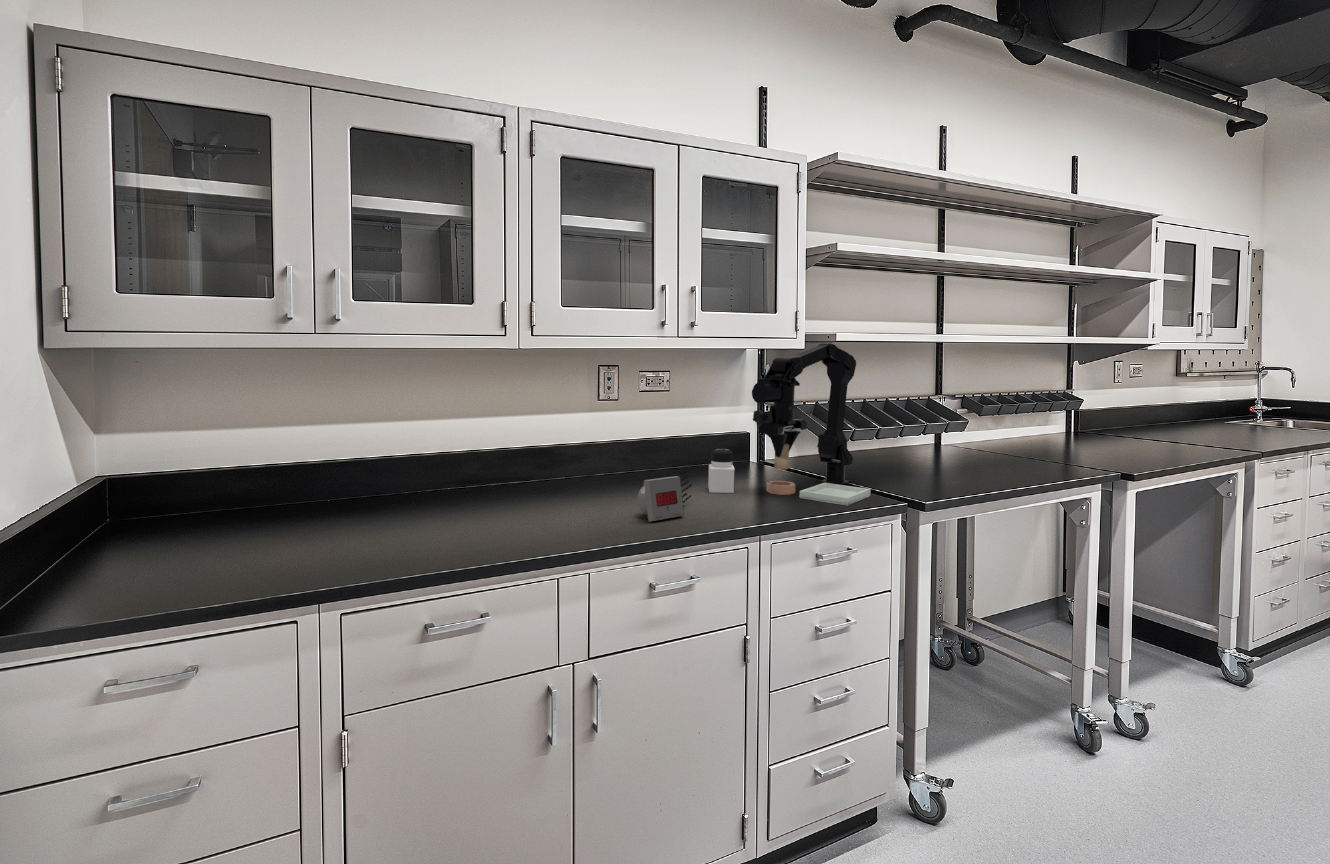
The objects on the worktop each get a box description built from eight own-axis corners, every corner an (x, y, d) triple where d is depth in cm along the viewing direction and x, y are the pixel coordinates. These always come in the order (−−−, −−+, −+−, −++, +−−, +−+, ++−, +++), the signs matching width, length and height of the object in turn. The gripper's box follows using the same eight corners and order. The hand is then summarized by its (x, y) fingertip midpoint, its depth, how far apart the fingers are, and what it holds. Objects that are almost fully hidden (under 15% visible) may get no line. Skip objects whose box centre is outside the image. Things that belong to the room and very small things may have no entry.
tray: (824, 489, 206) (824, 482, 206) (870, 496, 198) (870, 489, 198) (799, 498, 194) (799, 490, 193) (847, 505, 185) (847, 498, 185)
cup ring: (775, 488, 207) (775, 479, 207) (798, 491, 202) (799, 483, 202) (762, 492, 201) (762, 483, 201) (786, 495, 196) (786, 487, 196)
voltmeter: (675, 525, 162) (676, 483, 161) (629, 521, 165) (629, 480, 164) (702, 502, 187) (703, 465, 186) (662, 498, 190) (662, 463, 189)
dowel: (778, 466, 204) (779, 442, 203) (790, 468, 201) (791, 444, 200) (771, 468, 200) (772, 444, 200) (784, 469, 198) (785, 445, 197)
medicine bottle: (734, 493, 199) (735, 451, 197) (709, 492, 199) (710, 451, 197) (732, 488, 206) (733, 448, 204) (708, 487, 206) (709, 447, 204)
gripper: (774, 398, 211) (772, 449, 213) (742, 401, 196) (740, 456, 198) (808, 400, 204) (806, 453, 206) (777, 404, 189) (775, 461, 191)
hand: (781, 456), depth 200 cm, fingers closed on dowel, 4 cm apart
